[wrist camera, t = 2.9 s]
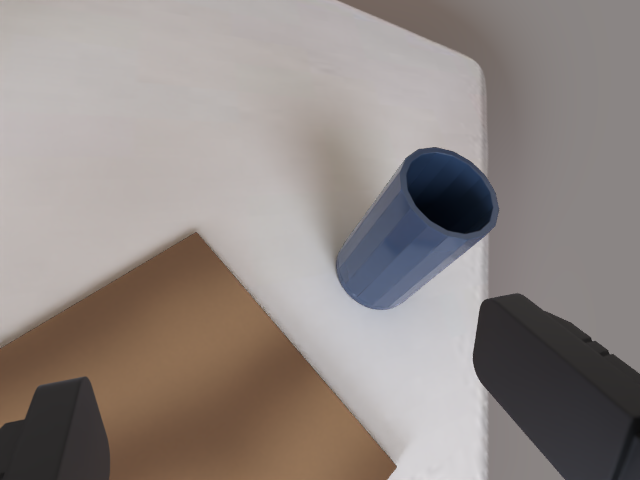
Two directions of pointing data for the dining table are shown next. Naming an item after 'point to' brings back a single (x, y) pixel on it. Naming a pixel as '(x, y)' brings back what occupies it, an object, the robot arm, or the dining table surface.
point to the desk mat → (192, 380)
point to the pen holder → (416, 227)
